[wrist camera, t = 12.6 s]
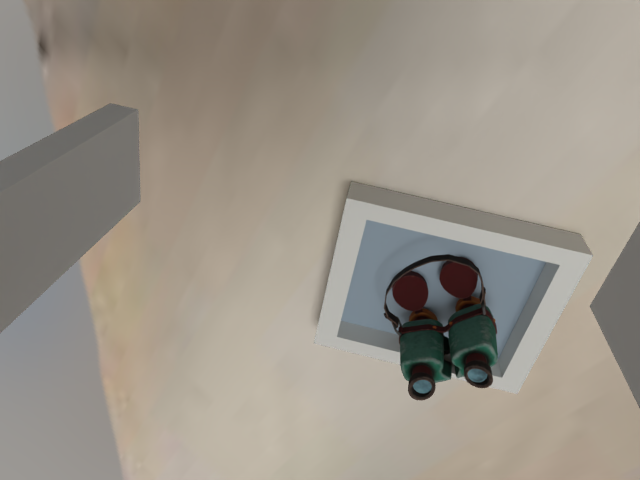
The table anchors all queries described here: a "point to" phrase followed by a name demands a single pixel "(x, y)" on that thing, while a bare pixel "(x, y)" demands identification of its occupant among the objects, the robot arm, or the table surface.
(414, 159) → the table surface
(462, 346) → the binoculars
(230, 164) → the table surface
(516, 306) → the case
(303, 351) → the table surface
